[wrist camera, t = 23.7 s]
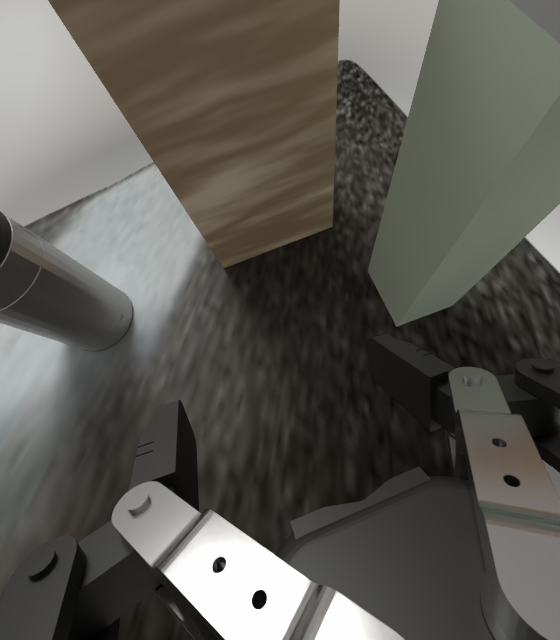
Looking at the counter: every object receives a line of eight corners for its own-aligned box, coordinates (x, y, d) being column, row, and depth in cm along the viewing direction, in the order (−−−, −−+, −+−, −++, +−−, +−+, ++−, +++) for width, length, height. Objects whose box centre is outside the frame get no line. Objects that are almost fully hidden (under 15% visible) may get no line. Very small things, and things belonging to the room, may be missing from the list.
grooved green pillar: (452, 305, 36) (843, -67, 9) (396, 326, 36) (608, 24, 9) (419, 251, 39) (637, -158, 12) (367, 271, 39) (462, -87, 12)
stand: (332, 226, 42) (349, -340, 11) (223, 268, 42) (-61, -166, 11) (297, 156, 47) (240, -370, 16) (200, 194, 47) (-42, -249, 16)
